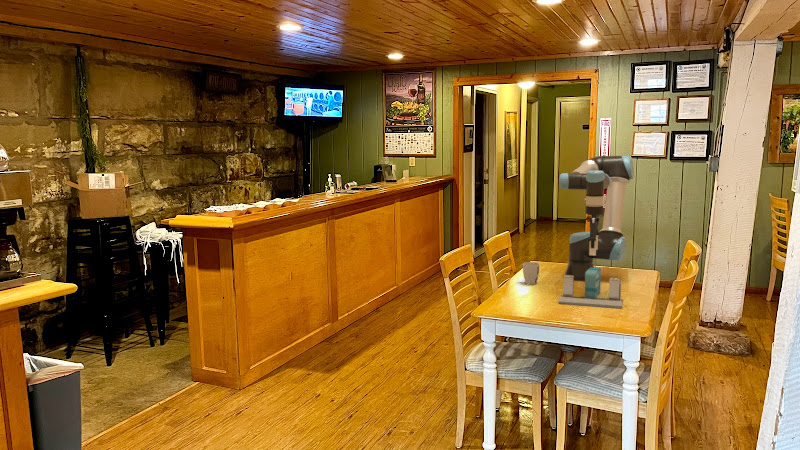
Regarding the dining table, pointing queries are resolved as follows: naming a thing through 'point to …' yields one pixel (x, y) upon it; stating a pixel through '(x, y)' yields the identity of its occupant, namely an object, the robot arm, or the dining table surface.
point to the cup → (531, 272)
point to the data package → (592, 282)
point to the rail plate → (586, 301)
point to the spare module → (619, 290)
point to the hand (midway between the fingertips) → (593, 252)
